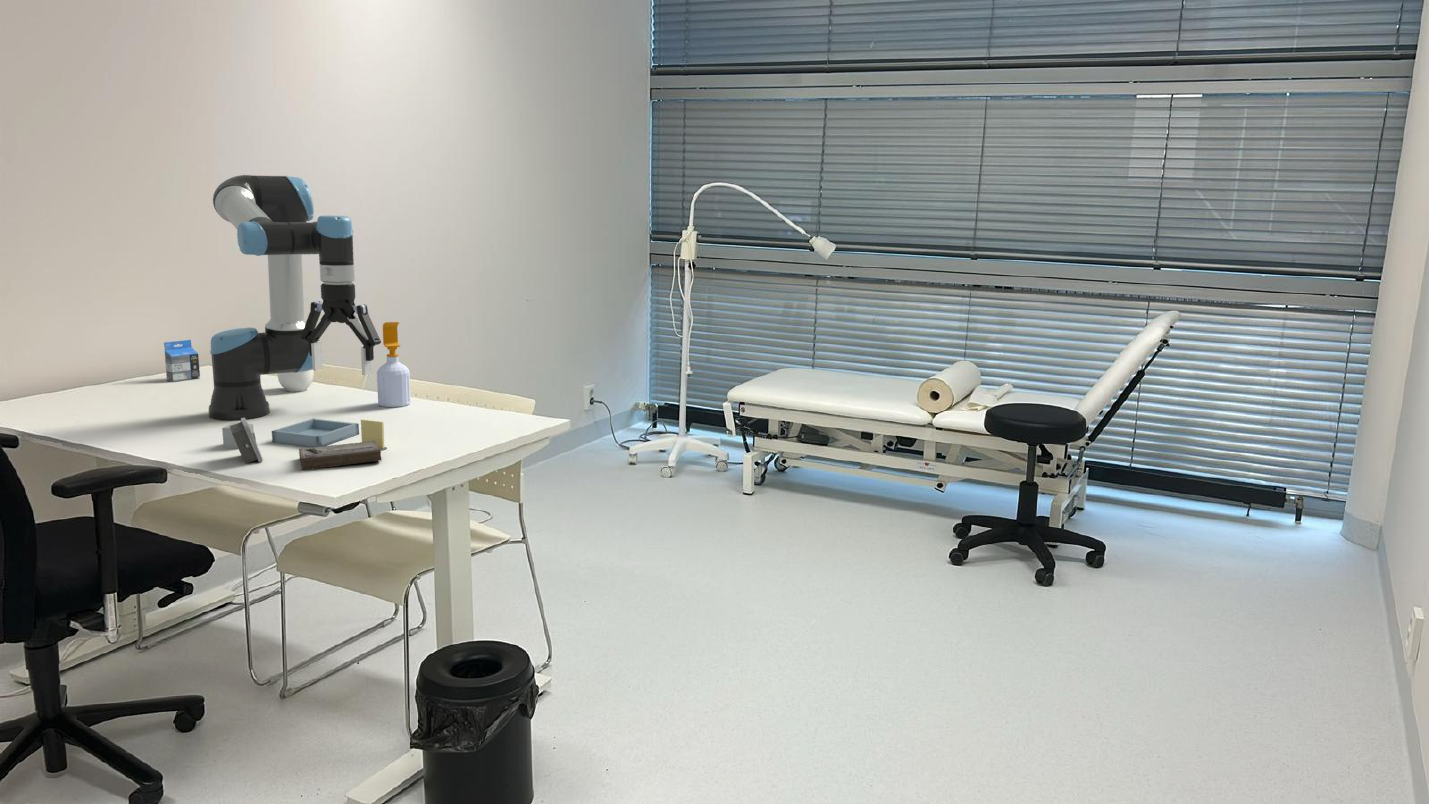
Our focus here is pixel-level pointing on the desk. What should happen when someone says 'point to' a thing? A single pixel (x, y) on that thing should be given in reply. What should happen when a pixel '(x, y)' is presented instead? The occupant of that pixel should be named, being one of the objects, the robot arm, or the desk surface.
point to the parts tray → (315, 432)
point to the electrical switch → (246, 441)
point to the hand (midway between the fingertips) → (342, 372)
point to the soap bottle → (393, 373)
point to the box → (339, 455)
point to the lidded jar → (296, 380)
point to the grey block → (231, 436)
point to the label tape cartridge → (181, 361)
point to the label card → (373, 432)
